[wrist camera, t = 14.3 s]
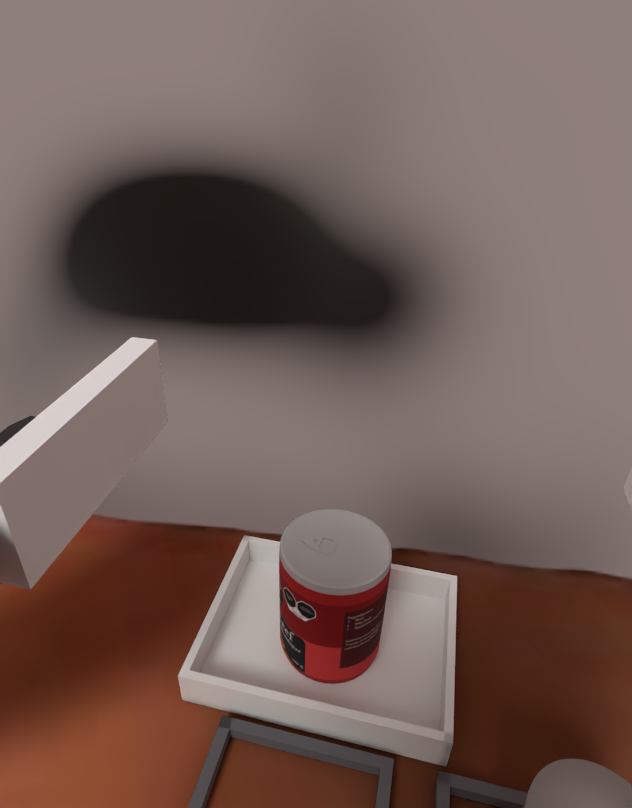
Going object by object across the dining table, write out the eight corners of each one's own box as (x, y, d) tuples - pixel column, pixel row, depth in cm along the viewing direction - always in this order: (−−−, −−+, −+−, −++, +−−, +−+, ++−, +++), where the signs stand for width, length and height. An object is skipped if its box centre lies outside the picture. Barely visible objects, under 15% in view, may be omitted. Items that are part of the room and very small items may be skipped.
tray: (182, 699, 42) (177, 675, 40) (245, 558, 53) (244, 535, 52) (446, 766, 38) (453, 743, 37) (451, 599, 50) (457, 576, 48)
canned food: (284, 600, 49) (284, 504, 43) (376, 605, 49) (389, 510, 43) (274, 684, 42) (272, 585, 36) (381, 691, 42) (397, 592, 36)
